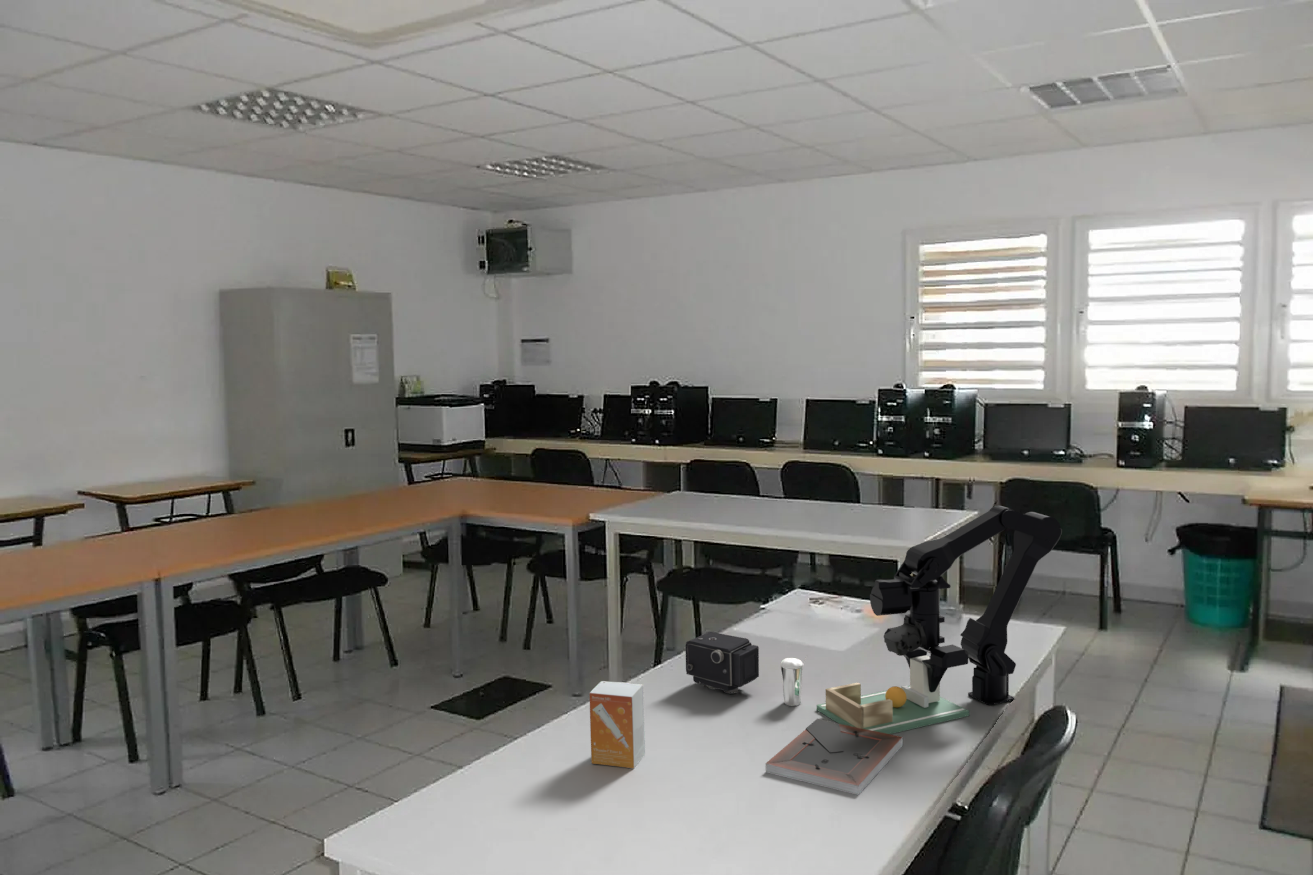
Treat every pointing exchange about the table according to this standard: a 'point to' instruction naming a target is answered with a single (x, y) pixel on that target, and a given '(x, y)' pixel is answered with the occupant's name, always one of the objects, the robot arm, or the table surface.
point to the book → (835, 756)
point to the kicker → (920, 684)
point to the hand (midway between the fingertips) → (924, 688)
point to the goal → (857, 706)
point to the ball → (896, 696)
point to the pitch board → (906, 714)
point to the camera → (722, 661)
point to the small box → (617, 724)
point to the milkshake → (792, 680)
